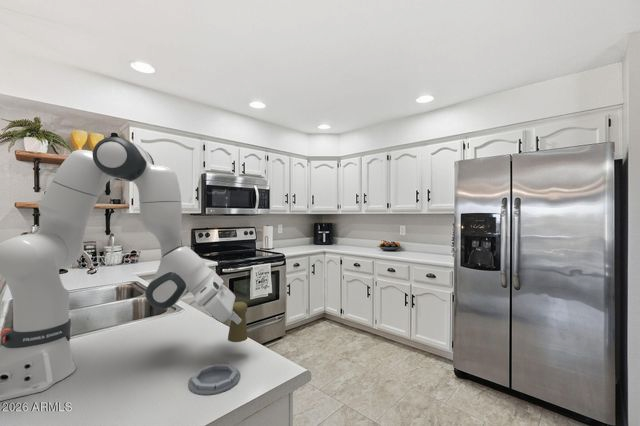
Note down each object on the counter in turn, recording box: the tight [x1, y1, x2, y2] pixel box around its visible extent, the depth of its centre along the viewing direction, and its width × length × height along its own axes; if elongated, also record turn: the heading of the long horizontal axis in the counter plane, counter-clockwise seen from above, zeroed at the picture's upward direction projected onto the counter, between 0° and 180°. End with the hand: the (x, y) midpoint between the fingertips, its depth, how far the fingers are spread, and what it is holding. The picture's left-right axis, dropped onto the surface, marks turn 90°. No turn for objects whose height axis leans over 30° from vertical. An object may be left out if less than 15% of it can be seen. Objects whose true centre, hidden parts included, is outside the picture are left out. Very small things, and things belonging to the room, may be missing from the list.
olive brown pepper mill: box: [227, 301, 249, 343], centre depth 92 cm, size 6×6×11 cm
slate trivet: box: [187, 363, 241, 396], centre depth 79 cm, size 13×13×2 cm
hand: (240, 319), depth 93 cm, fingers closed on olive brown pepper mill, 4 cm apart
